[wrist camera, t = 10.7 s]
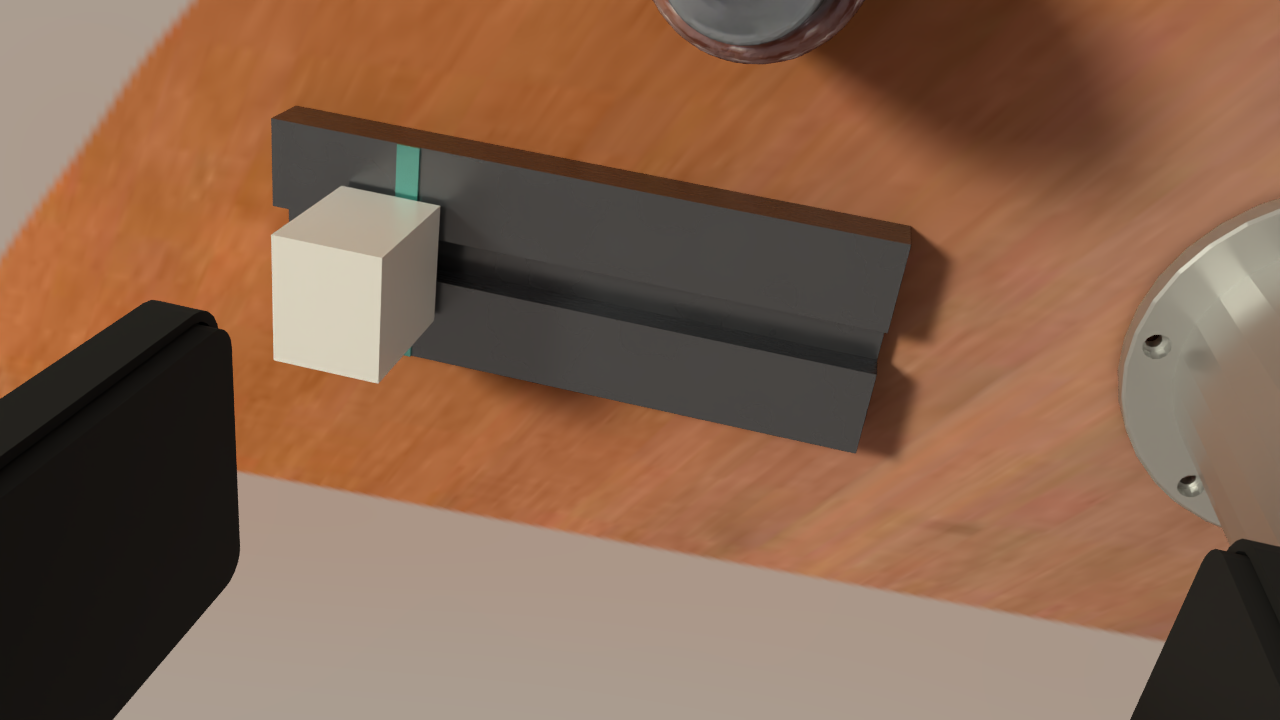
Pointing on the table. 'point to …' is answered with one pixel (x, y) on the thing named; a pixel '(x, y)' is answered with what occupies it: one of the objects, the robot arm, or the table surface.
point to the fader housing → (626, 277)
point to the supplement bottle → (757, 26)
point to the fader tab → (354, 282)
